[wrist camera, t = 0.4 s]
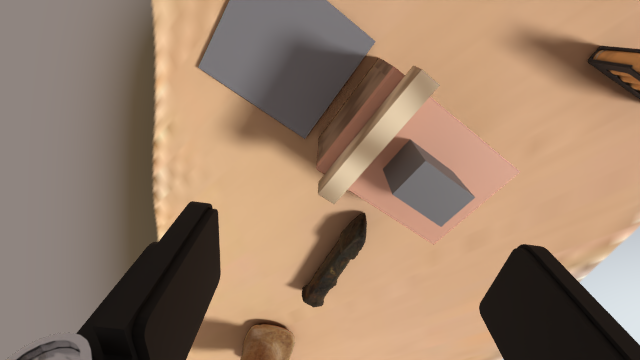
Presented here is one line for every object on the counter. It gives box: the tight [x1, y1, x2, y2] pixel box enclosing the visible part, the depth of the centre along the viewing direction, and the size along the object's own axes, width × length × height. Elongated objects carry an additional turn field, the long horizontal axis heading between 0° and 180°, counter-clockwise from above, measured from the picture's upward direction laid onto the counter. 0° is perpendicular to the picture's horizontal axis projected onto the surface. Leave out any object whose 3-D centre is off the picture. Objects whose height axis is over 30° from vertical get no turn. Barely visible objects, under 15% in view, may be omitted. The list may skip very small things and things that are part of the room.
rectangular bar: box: [318, 66, 440, 204], centre depth 26 cm, size 14×2×2 cm, turn 145°
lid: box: [316, 67, 521, 245], centre depth 28 cm, size 12×17×7 cm
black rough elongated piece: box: [302, 213, 367, 307], centre depth 45 cm, size 19×4×5 cm, turn 152°
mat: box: [198, 0, 375, 139], centre depth 32 cm, size 14×15×1 cm
